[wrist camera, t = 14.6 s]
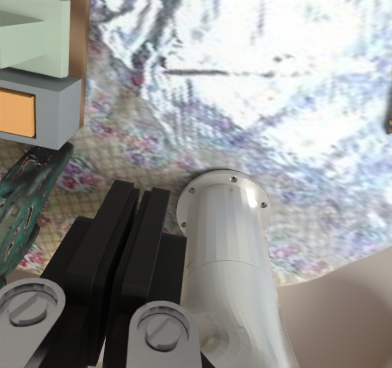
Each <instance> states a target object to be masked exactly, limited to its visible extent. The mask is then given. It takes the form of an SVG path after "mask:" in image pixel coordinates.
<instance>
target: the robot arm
mask: <svg viewBox="0 0 392 368" xmlns="http://www.w3.org/2000/svg"><path fill="white" fill-rule="evenodd" d="M232 177H235V178H232ZM192 188H194V189H192ZM139 194H140V189H136V188H134V183H131V182H126V181H121V180H115V181H114V183H113V185H112V187H111V188H110V190H109V192H108V194H107V196H106V198H105V200H104V201H103V203H102V205H101V207H100V209H99V211H98V213H97V214H96V216H95V218H94V219H91V218H86V217H81V216H79V217H77V219H76V220H75V221H74V223H73V225H72V226H71V228H70V229H69V231H68V233H67V234H66V236H65V237H64V239H63V241H62V242H61V244H60V245H59V247H58V249H57V250H56V252H55V253H54V255H53V257H52V258H51V260H50V262H49V263H48V265H47V266H46V268H45V270H44V271H43V273H42V274H41V276H40V278H26V279H22V280H18V281H15V282H13V283H10V284H8V285H6V286H4V287H3V288H2V289H1V290H0V368H88V366H90V367H89V368H299V365H298V363H297V360H296V358H295V355H294V353H293V350H292V347H291V344H290V342H289V338H288V335H287V332H286V329H285V325H284V321H283V317H282V313H281V309H280V305H279V300H278V296H277V291H276V286H275V282H274V277H273V273H272V268H271V264H270V259H269V255H268V250H267V245H266V241H265V236H264V231H265V230H266V228H267V226H268V224H269V220H270V211H271V209H270V204H269V200H268V197H267V194H266V193H265V191H264V189H263V188H262V187H261V186H260V185H259V183H258V182H257V181H255V180H254V179H252V178H251V177H249V176H247V175H245V174H243V173H240V172H236V171H232V170H216V171H211V172H207V173H204V174H202V175H200V176H198V177H196V178H195V179H193V180H192V181H191V182H189V183H188V184H187V186H186V187H185V188H184V189H183V191H182V192H181V194H180V196H179V199H178V202H177V208H176V218H177V222H178V225H179V227H180V229H181V231H182V232H183V234H184V235H185V237H184V236H178V235H173V234H168V233H163V232H162V231H163V226H164V221H165V216H166V211H167V206H168V201H169V196H170V190H165V189H160V188H155V187H153V189H152V192H151V191H146V190H145V192H144V195H143V198H142V200H141V203H140V206H139V209H138V212H137V207H138V200H139ZM263 202H264V203H263ZM136 214H137V215H136ZM105 337H106V341H105V349H104V357H103V362H101V363H97V362H98V359H99V356H100V353H101V349H102V347H103V343H104V340H105Z"/></svg>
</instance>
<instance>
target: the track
mask: <svg viewBox="0 0 392 368" xmlns="http://www.w3.org/2000/svg"><path fill="white" fill-rule="evenodd" d="M69 1H70V32H69V66H68V75H66V76H72V77H76V78H81V79H82V80H81V101H80V122H79V129H80V128H81V127H82V126H83V122H84V104H85V85H86V66H87V48H88V29H89V10H90V0H69ZM66 76H64V78H65V77H66Z"/></svg>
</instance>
